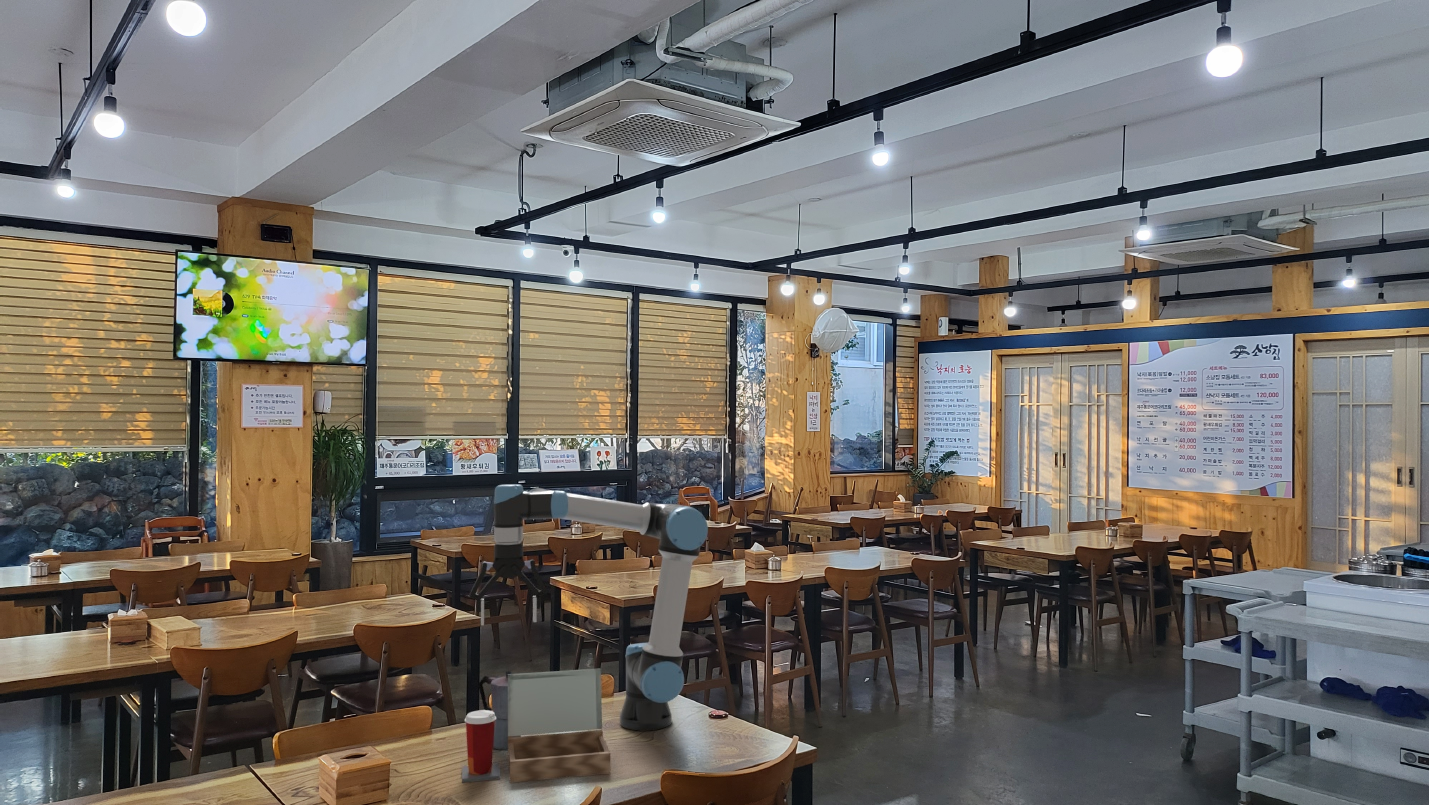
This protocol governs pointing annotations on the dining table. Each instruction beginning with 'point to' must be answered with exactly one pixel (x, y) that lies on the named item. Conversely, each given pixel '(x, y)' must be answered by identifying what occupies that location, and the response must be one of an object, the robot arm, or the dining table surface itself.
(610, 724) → the dining table surface
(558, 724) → the lid
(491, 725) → the paper cup
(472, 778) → the plate
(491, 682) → the moka pot
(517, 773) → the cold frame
